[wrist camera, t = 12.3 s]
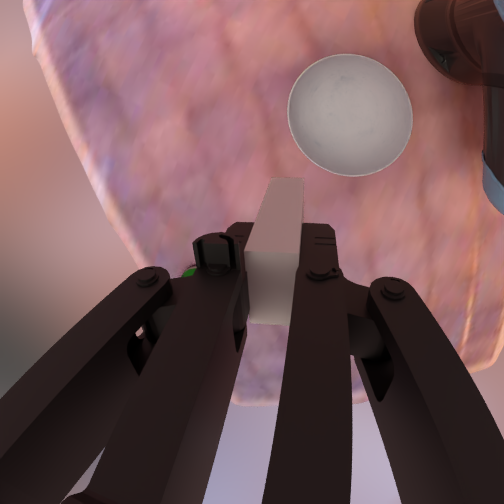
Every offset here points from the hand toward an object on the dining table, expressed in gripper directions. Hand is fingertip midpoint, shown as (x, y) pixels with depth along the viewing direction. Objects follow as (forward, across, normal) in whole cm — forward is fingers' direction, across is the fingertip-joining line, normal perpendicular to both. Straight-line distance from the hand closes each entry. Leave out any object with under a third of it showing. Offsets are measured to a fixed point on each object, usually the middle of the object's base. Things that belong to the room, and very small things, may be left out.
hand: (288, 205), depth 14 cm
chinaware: (+31, -6, -2) cm, 31 cm away
